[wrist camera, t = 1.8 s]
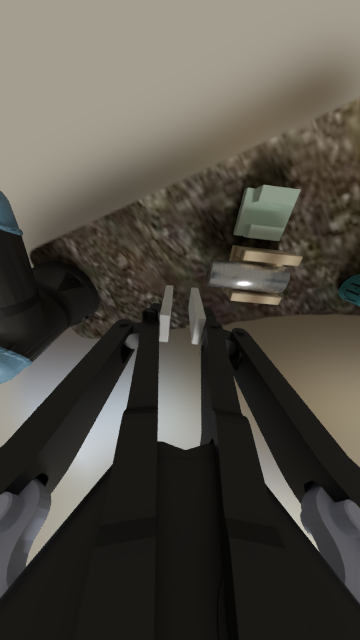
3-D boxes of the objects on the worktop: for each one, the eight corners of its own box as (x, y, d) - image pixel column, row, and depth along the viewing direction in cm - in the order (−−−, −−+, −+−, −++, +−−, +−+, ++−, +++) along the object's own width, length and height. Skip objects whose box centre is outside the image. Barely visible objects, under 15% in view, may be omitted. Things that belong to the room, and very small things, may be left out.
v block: (232, 235, 30) (239, 236, 27) (244, 188, 26) (254, 183, 23) (275, 240, 31) (287, 242, 27) (293, 194, 27) (309, 190, 23)
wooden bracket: (221, 286, 36) (230, 300, 30) (232, 245, 31) (245, 250, 25) (261, 290, 37) (278, 304, 30) (278, 250, 32) (302, 256, 25)
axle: (205, 281, 32) (208, 290, 28) (210, 256, 29) (214, 262, 25) (268, 287, 33) (281, 296, 28) (278, 263, 30) (294, 270, 26)
